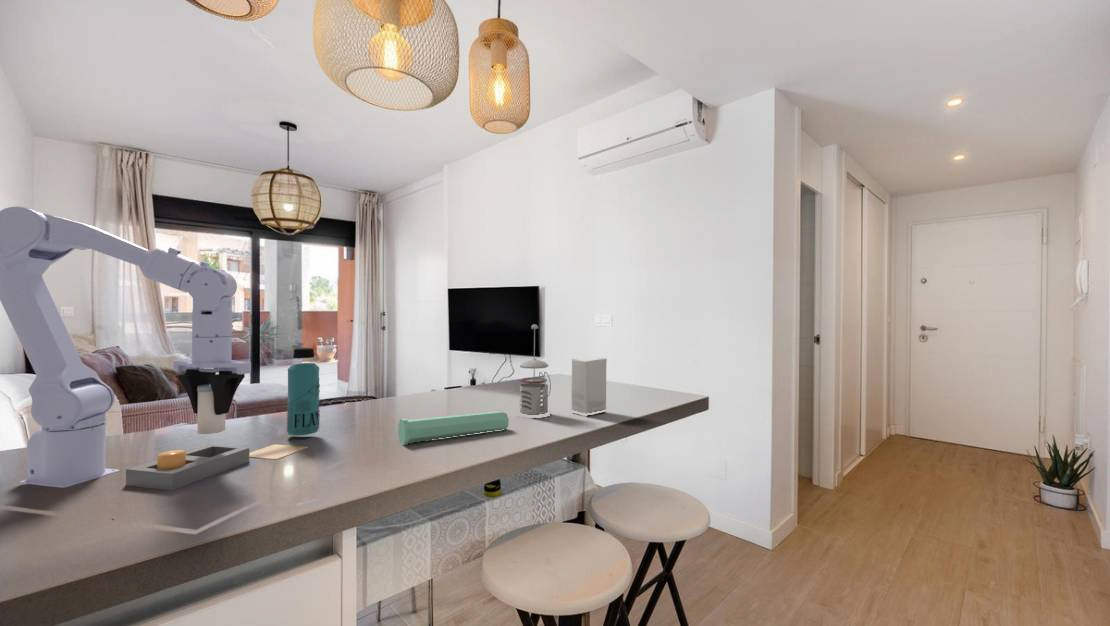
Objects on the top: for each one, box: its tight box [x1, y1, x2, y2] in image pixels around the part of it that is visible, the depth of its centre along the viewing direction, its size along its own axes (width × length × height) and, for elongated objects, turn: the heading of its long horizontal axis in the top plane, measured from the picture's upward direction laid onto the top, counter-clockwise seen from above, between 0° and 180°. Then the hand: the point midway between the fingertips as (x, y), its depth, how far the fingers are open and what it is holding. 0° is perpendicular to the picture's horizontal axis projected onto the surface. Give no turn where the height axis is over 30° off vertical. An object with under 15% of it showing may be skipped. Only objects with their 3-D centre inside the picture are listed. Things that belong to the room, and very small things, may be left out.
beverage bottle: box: [286, 347, 321, 436], centre depth 102 cm, size 6×7×20 cm
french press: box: [519, 323, 552, 415], centre depth 128 cm, size 10×12×25 cm
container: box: [397, 410, 509, 446], centre depth 106 cm, size 6×6×25 cm
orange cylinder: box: [156, 449, 187, 470], centre depth 76 cm, size 4×4×4 cm
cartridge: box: [196, 384, 226, 435], centre depth 83 cm, size 4×4×8 cm
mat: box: [249, 443, 308, 461], centre depth 91 cm, size 8×8×1 cm
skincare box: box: [571, 356, 608, 414], centre depth 131 cm, size 8×7×16 cm
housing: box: [125, 444, 250, 491], centre depth 79 cm, size 9×14×3 cm, turn 168°
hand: (211, 413), depth 83 cm, fingers closed on cartridge, 4 cm apart
